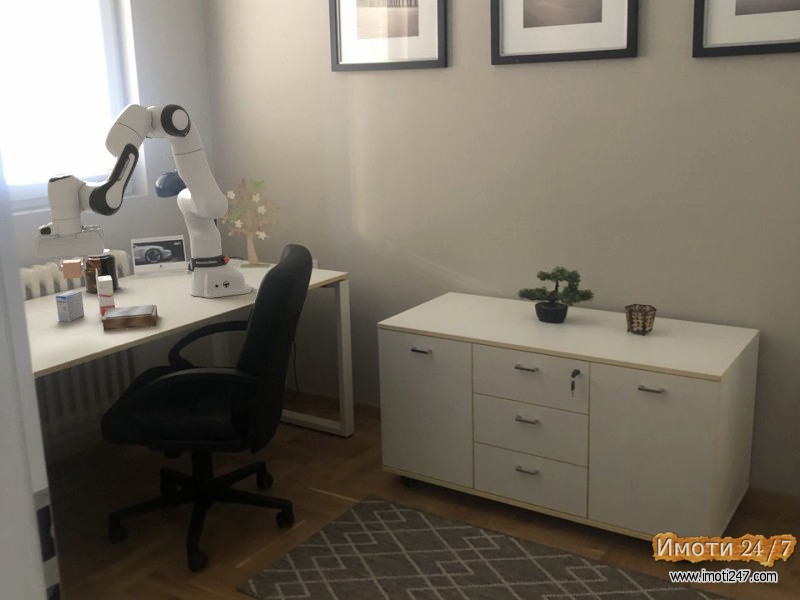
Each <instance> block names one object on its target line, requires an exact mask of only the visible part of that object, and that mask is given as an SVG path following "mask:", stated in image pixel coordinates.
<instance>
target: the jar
mask: <svg viewBox="0 0 800 600" xmlns="http://www.w3.org/2000/svg"><path fill="white" fill-rule="evenodd" d="M88 257H89V258H88V260H87V262H86V270H83V276H84V282H85V291H86V293H94V294H95V293H97V294H98V292H97V283H96V269H97V272H98V277H101V276H111V278H112V284H113V291H116V290H118V289H119V286H120V284H119V276H118V268H117V261H116V255H114V254H112V253H111V250H110V249H107V248H104V252H103V253H102V254H100V255H88ZM84 261H85V259H83V258H82V263H84Z"/></svg>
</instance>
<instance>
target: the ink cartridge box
mask: <svg viewBox="0 0 800 600" xmlns="http://www.w3.org/2000/svg"><path fill="white" fill-rule="evenodd" d="M96 283H97V292H98V293H97V299H98V305H99V306H98V307H99V312H100V314H101V315H104V314H105V312H106V309H109V308H116V306H115V297H114V290H113V284H112V278H111V276H101V277H98V272H97V269H96Z"/></svg>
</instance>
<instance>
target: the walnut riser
mask: <svg viewBox="0 0 800 600" xmlns="http://www.w3.org/2000/svg"><path fill="white" fill-rule="evenodd" d="M101 321H102V329H103V331H104V332H105V331H116V330H126V328H128V329H137V328H139V329H140V328H148V327H149V328H150V327H156V326H157V321H158V306H157V304H146V305H135V306H121V307H115V308H109V309H106V312H105V314H103V316H102V320H101Z"/></svg>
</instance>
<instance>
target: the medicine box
mask: <svg viewBox="0 0 800 600" xmlns="http://www.w3.org/2000/svg"><path fill="white" fill-rule="evenodd" d="M55 300H56V301H55V302H56V308H57V317H58V322H66V323H67V322H72V321H74V320H77V319H79V318H82V317H83V316H85V311H84V303H83V302H84V301H83V300H84V299H83V292H82V291H79V290H70V291H66V292H64V293H61V294H59V295H55Z"/></svg>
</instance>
